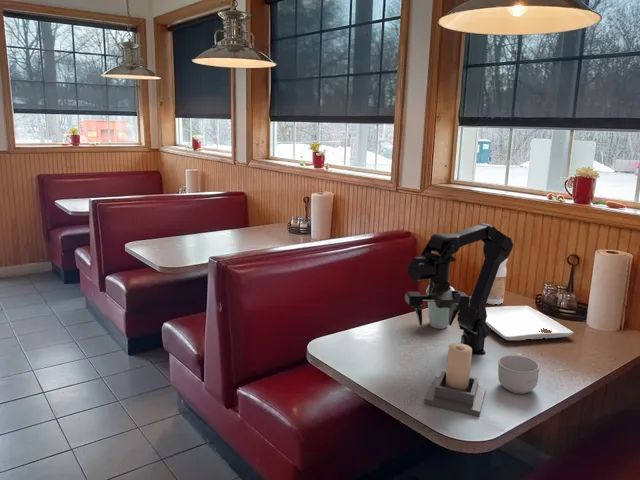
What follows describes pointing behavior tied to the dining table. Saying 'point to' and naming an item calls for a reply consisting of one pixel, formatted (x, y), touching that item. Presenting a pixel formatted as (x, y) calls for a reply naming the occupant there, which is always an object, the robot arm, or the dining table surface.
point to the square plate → (523, 323)
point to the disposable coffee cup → (438, 314)
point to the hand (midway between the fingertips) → (435, 325)
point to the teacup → (518, 373)
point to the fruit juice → (498, 285)
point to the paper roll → (458, 367)
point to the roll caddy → (456, 396)
